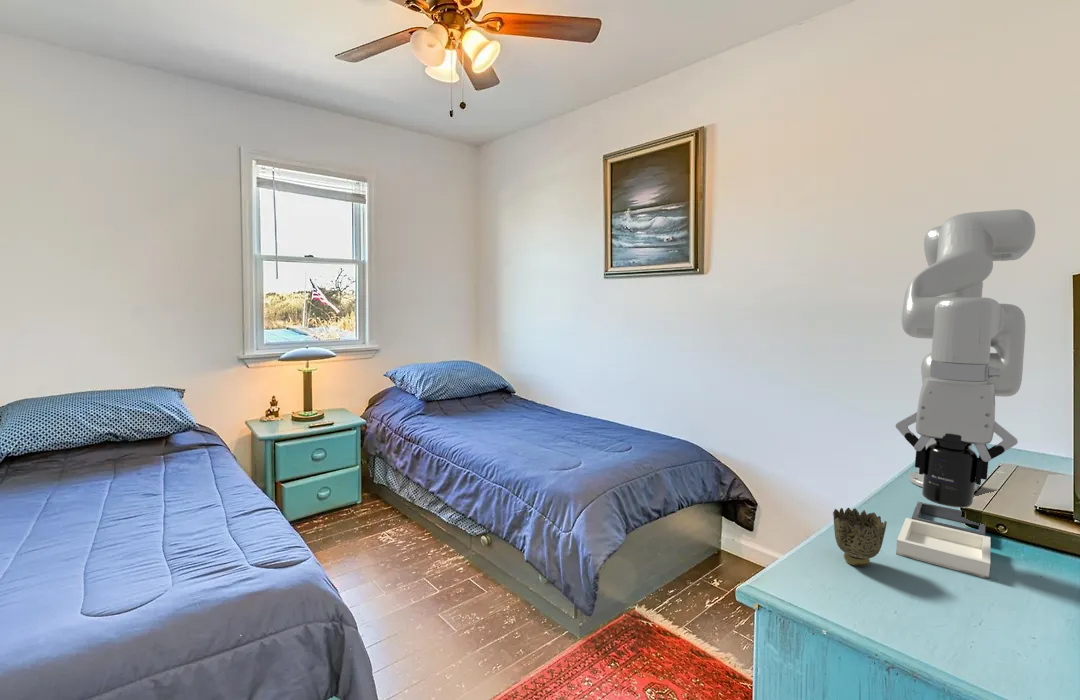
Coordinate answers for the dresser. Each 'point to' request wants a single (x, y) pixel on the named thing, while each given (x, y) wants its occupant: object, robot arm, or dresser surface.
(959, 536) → the white square tray
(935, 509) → the frame
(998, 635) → the dresser surface
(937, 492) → the supplement bottle
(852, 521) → the olive rounded textured piece
